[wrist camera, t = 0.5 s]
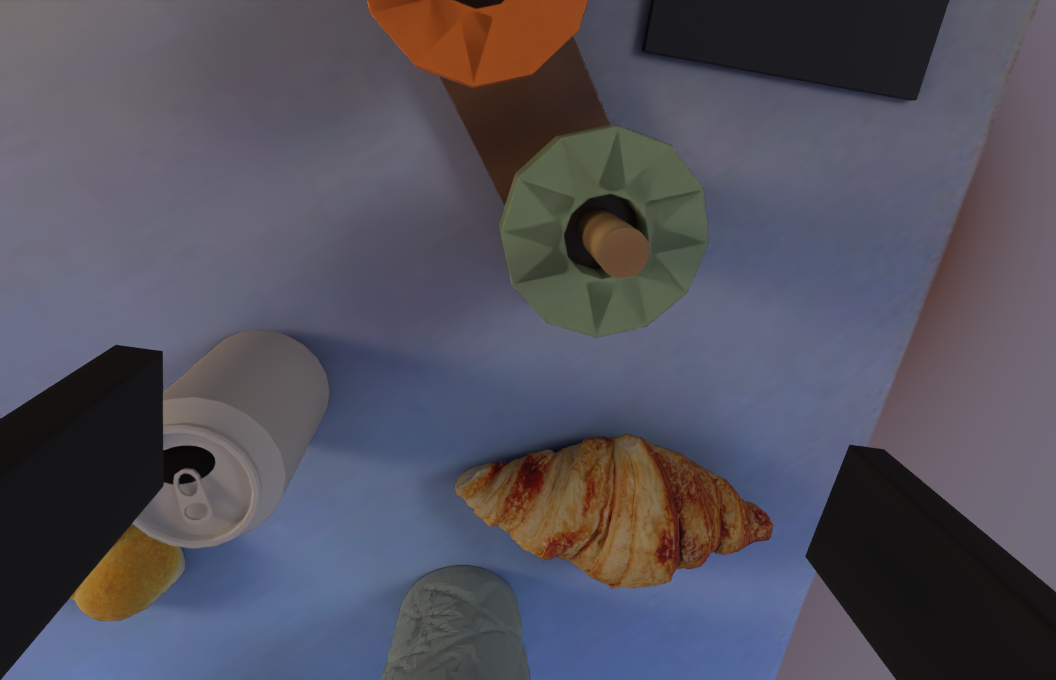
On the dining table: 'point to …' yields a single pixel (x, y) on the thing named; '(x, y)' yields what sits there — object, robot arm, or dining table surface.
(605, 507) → the croissant
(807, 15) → the mat
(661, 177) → the green disc
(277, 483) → the can
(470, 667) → the grey embossed cup
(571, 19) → the orange disc
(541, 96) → the peg rack
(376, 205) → the dining table surface
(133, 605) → the bread roll
